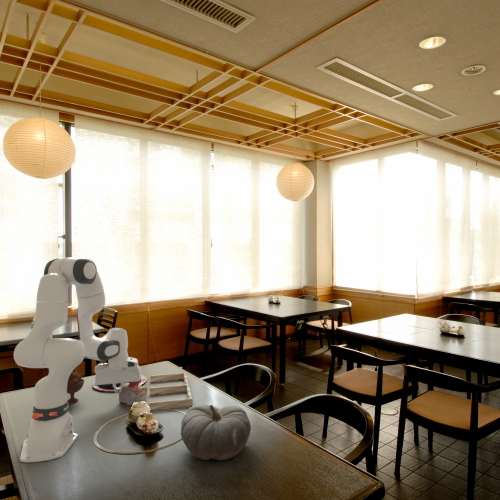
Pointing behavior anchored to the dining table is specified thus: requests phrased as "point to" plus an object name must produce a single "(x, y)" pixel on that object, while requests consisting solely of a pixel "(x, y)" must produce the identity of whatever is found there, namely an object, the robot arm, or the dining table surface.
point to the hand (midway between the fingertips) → (118, 392)
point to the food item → (132, 393)
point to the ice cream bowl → (74, 386)
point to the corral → (170, 391)
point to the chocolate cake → (110, 386)
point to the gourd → (215, 431)
